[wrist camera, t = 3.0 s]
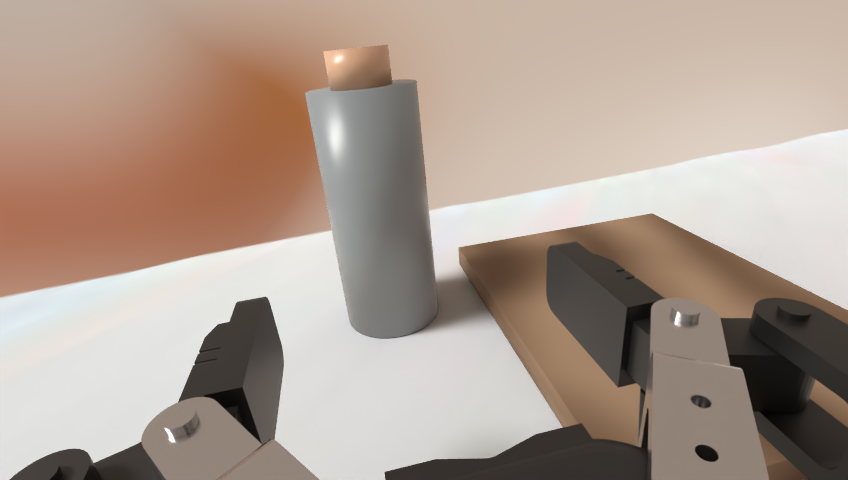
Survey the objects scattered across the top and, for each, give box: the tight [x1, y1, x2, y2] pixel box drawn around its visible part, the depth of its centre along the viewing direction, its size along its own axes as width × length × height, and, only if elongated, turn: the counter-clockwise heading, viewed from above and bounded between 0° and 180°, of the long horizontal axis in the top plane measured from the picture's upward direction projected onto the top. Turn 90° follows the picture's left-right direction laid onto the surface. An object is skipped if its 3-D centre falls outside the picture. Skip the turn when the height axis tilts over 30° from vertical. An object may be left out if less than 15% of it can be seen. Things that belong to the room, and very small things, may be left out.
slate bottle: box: [305, 45, 438, 338], centre depth 22 cm, size 5×5×14 cm
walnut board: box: [459, 214, 848, 480], centre depth 22 cm, size 14×18×1 cm
